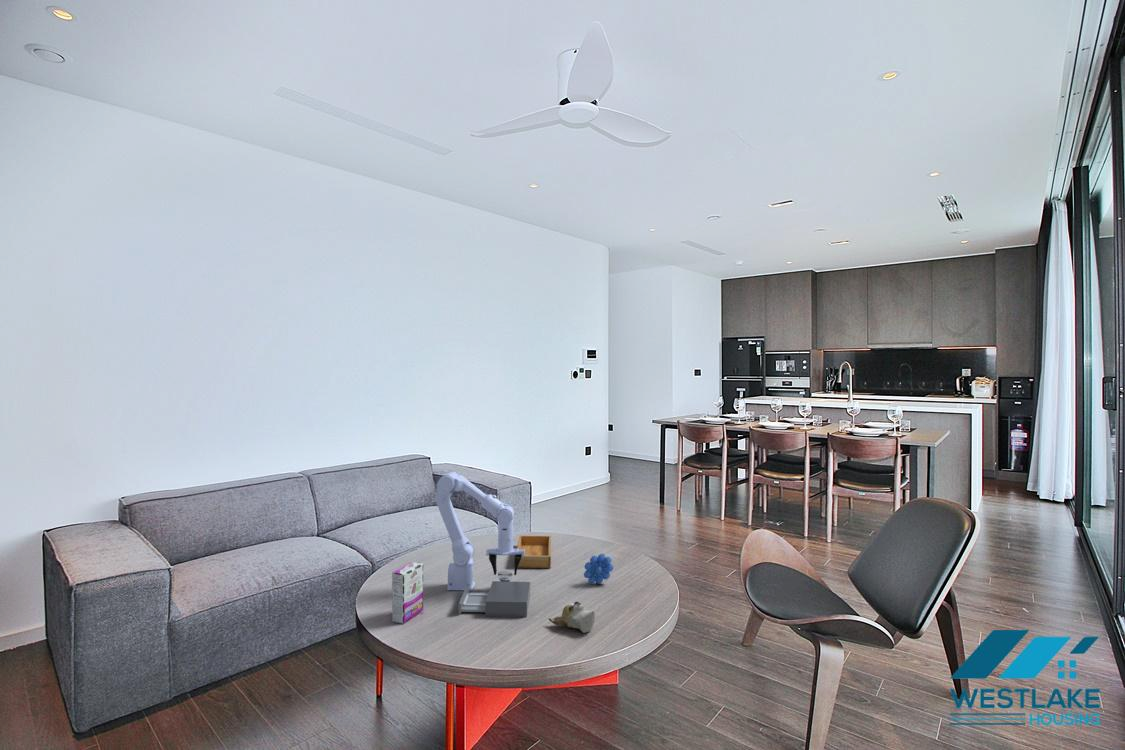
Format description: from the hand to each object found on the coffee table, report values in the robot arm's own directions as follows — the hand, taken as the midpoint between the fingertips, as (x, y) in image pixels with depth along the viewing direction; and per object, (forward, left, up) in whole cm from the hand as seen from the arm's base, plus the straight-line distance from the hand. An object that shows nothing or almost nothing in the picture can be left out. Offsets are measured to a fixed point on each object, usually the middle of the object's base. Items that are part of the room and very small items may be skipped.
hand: (505, 574), depth 208 cm
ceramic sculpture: (+26, -30, -6) cm, 41 cm away
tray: (+9, +37, -6) cm, 39 cm away
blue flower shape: (+36, +7, -6) cm, 37 cm away
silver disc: (0, 0, -2) cm, 2 cm away
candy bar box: (-30, -25, -6) cm, 40 cm away
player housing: (+3, -15, -6) cm, 16 cm away
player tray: (-7, -15, -5) cm, 17 cm away
